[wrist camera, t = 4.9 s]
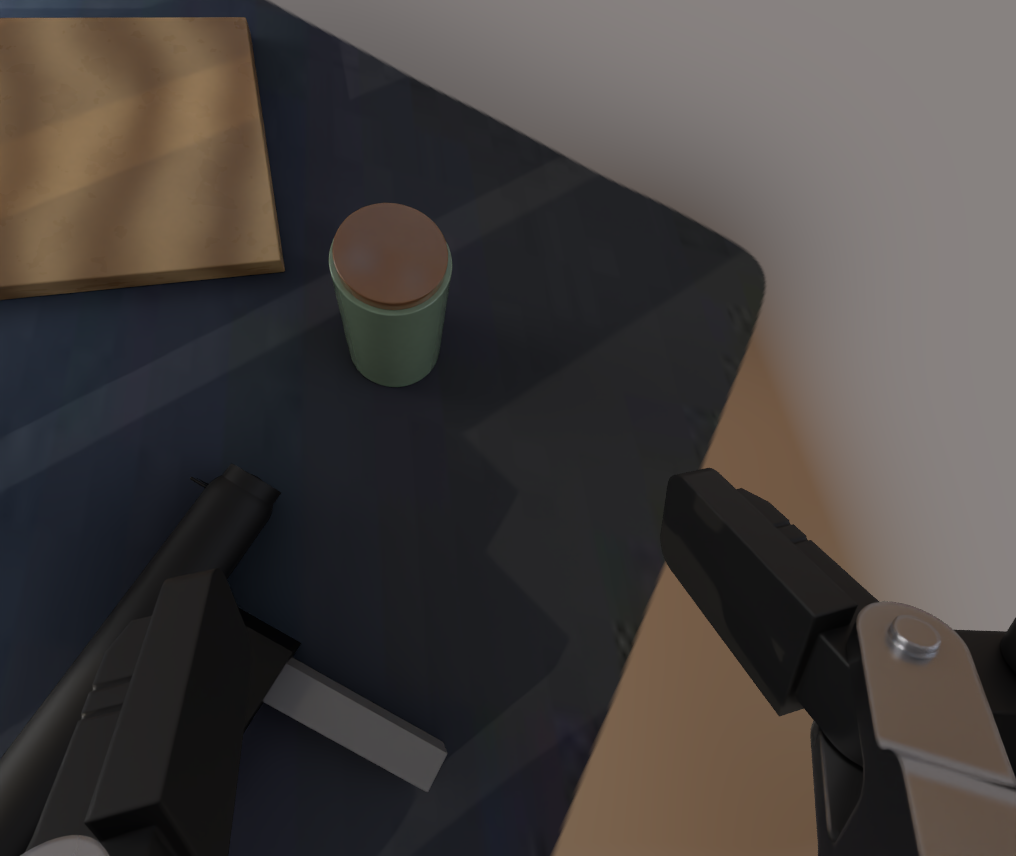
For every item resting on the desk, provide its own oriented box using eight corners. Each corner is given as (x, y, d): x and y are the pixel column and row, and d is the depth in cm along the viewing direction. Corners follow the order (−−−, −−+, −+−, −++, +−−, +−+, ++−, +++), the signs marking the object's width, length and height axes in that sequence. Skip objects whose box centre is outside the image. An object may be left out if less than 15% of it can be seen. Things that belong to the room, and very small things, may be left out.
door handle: (516, 627, 25) (197, 440, 24) (235, 1181, 19) (-215, 965, 18) (500, 620, 28) (217, 454, 27) (255, 1093, 22) (-127, 904, 21)
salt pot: (356, 393, 29) (336, 315, 21) (342, 310, 30) (318, 202, 22) (447, 380, 30) (464, 300, 22) (430, 299, 31) (440, 193, 23)
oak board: (-285, 329, 25) (-317, 316, 24) (-254, 40, 28) (-282, 17, 27) (285, 272, 30) (280, 260, 29) (251, 35, 34) (245, 16, 33)
